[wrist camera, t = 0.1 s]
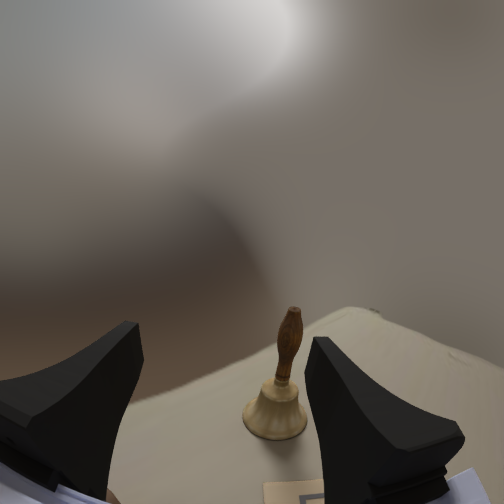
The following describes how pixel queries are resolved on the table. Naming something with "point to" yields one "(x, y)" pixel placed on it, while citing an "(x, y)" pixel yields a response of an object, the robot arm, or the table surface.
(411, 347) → the table surface
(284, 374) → the hand bell
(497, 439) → the table surface
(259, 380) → the table surface
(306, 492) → the plate
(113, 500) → the stamp
